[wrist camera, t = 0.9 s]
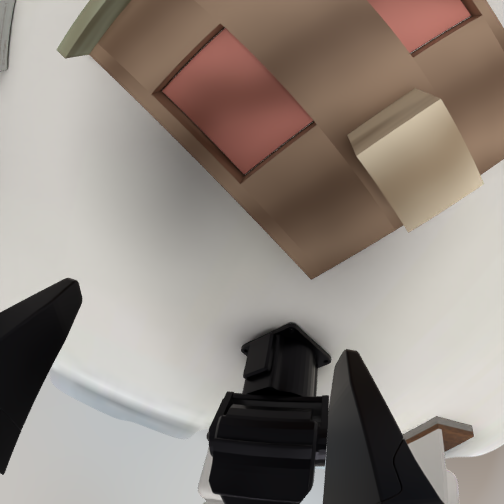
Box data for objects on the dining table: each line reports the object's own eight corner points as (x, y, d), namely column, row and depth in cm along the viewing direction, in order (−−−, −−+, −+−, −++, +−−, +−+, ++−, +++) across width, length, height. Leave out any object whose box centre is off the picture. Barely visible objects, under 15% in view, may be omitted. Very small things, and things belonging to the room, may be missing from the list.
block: (455, 157, 16) (484, 183, 13) (393, 199, 19) (408, 232, 15) (415, 88, 15) (440, 98, 11) (347, 135, 17) (356, 156, 14)
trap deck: (536, 121, 14) (568, 138, 11) (311, 267, 24) (310, 303, 21) (321, -143, 7) (321, -171, 3) (93, 45, 17) (56, 49, 14)
